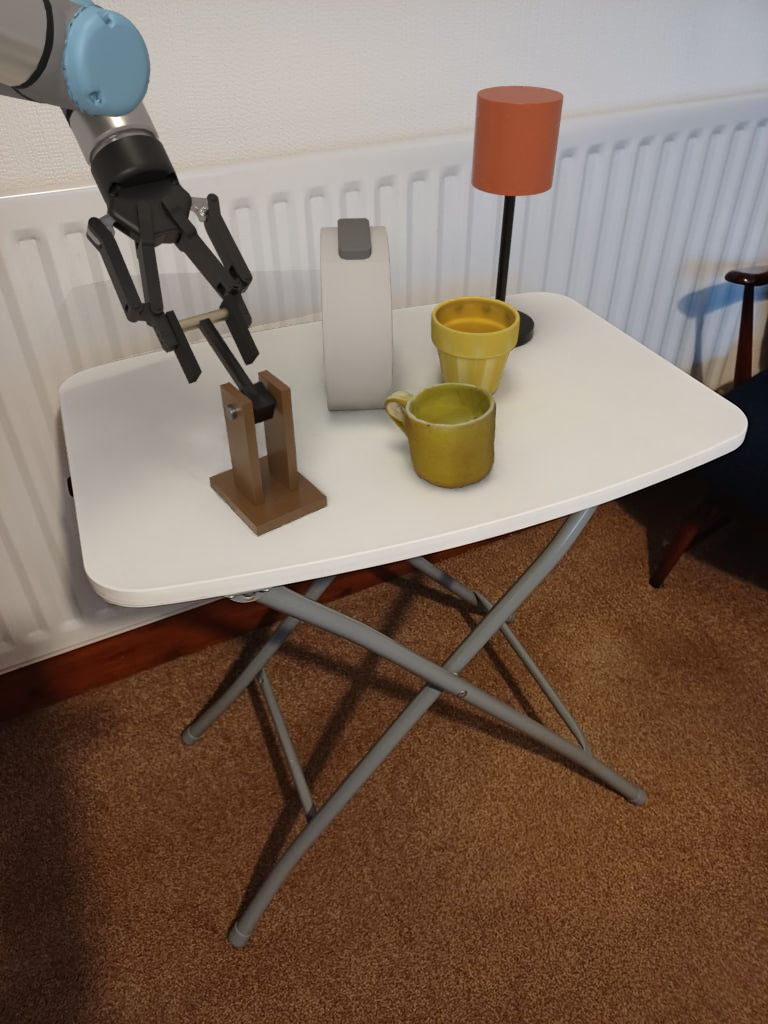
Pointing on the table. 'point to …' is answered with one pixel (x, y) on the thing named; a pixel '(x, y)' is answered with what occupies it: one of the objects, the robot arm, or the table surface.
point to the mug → (447, 431)
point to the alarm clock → (356, 314)
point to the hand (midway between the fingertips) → (224, 368)
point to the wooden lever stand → (264, 462)
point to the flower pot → (474, 339)
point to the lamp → (515, 159)
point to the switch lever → (232, 362)
